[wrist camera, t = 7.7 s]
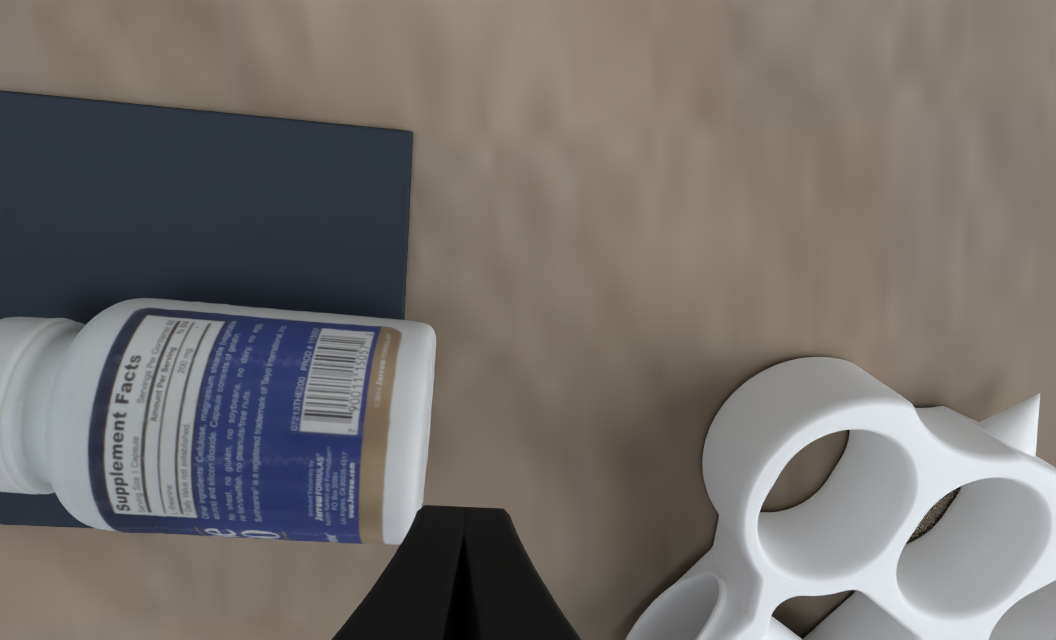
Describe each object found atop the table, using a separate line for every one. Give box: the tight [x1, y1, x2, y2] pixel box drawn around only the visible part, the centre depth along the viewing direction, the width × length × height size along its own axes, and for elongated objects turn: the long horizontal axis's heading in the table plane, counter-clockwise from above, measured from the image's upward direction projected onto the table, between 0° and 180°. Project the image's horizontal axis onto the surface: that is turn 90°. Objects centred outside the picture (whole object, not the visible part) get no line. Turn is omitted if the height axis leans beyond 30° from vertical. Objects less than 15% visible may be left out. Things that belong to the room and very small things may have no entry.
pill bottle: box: [0, 298, 436, 545], centre depth 16 cm, size 5×5×10 cm
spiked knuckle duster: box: [625, 357, 1056, 640], centre depth 21 cm, size 3×18×15 cm
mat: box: [0, 91, 413, 528], centre depth 18 cm, size 12×20×1 cm, turn 84°
